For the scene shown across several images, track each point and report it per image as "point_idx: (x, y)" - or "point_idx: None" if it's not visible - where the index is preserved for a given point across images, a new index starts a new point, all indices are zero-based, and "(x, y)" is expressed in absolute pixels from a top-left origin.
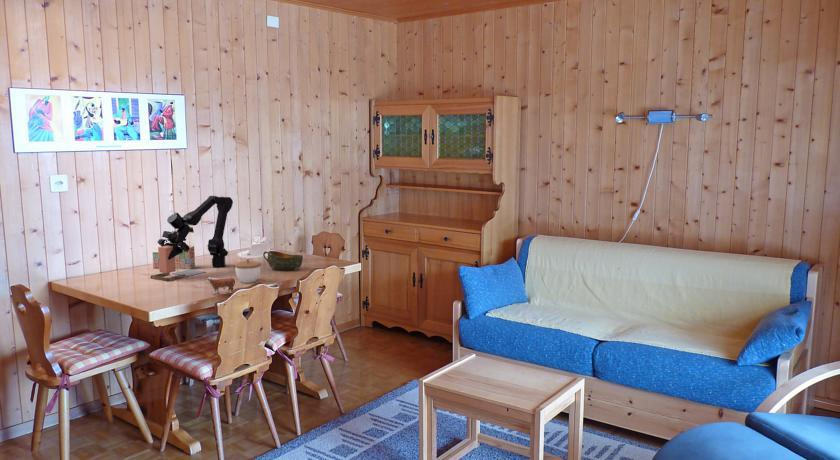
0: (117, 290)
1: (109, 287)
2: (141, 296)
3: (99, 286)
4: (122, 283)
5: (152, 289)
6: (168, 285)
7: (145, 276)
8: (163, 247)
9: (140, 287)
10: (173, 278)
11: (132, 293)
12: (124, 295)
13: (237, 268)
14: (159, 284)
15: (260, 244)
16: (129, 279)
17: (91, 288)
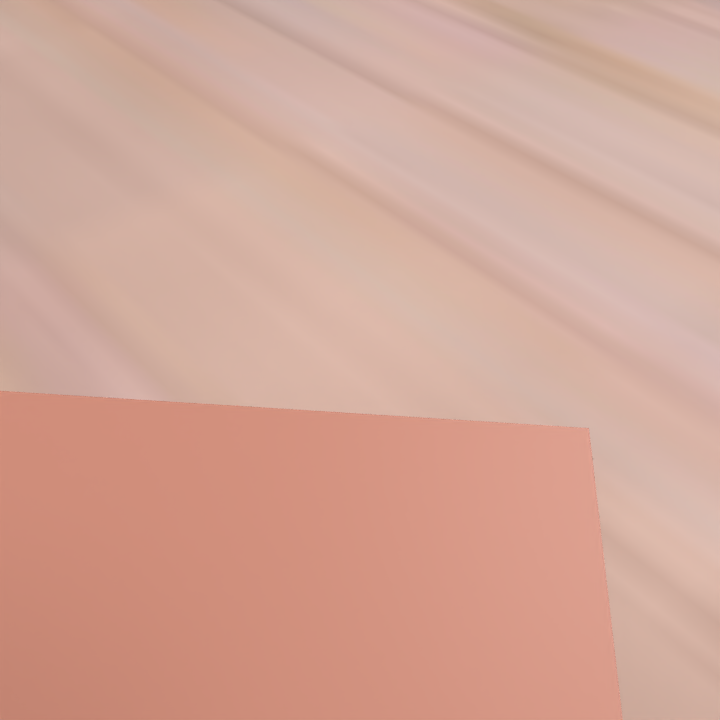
0: (348, 52)
1: (500, 77)
2: (36, 29)
3: (607, 65)
4: (553, 198)
5: (96, 173)
6: (43, 335)
7: (708, 561)
8: (130, 505)
9: (256, 174)
10: None
11: (163, 47)
12: (176, 3)
13: None
14: (170, 324)
15: None
16: (686, 340)
17: (588, 15)
